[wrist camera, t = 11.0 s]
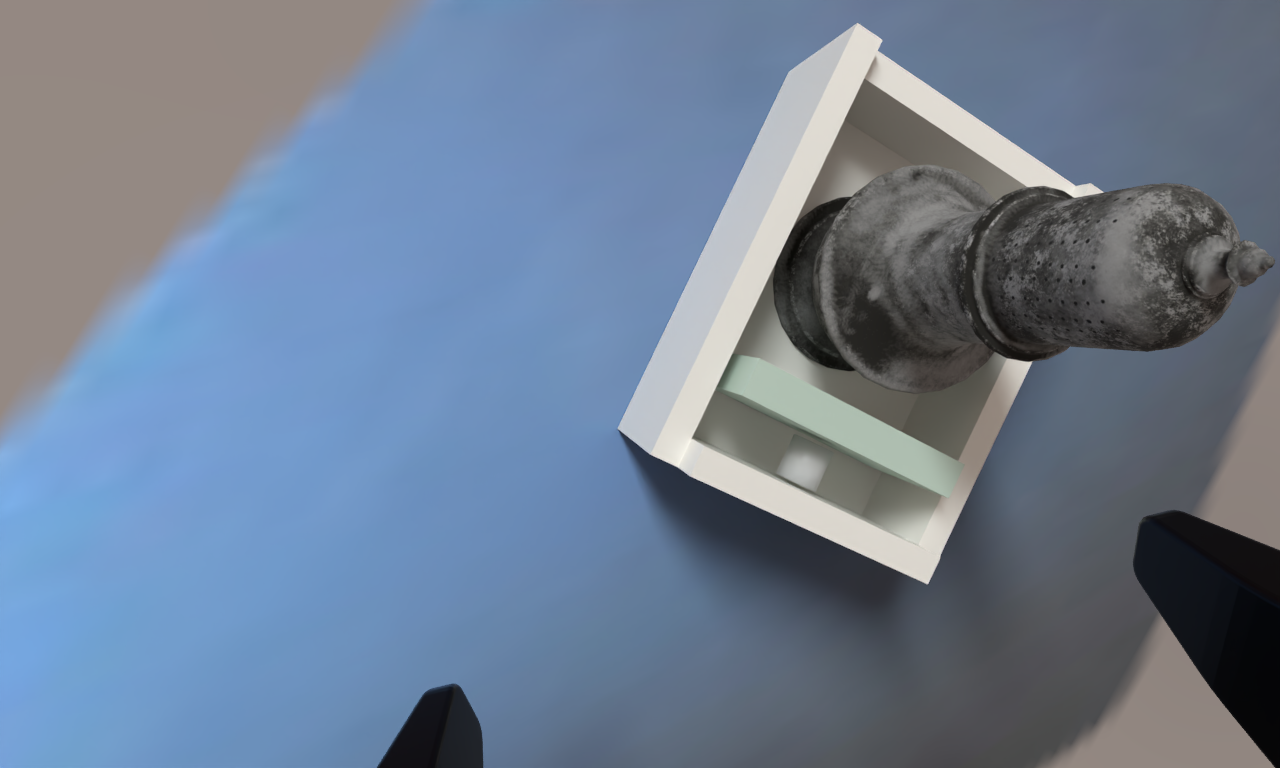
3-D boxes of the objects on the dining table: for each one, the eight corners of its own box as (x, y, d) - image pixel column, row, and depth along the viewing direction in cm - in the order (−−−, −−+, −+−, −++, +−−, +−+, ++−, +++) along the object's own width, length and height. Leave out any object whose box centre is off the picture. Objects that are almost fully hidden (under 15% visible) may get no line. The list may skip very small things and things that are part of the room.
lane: (854, 537, 24) (950, 594, 20) (617, 428, 22) (660, 462, 17) (1008, 213, 25) (1142, 192, 20) (788, 71, 22) (879, 7, 17)
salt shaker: (960, 223, 23) (1466, 139, 11) (905, 402, 23) (1346, 498, 12) (797, 158, 22) (1187, -14, 10) (739, 349, 22) (1055, 400, 10)
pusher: (875, 469, 23) (948, 498, 20) (696, 380, 21) (741, 395, 18) (888, 440, 23) (964, 464, 20) (711, 349, 21) (759, 358, 18)
